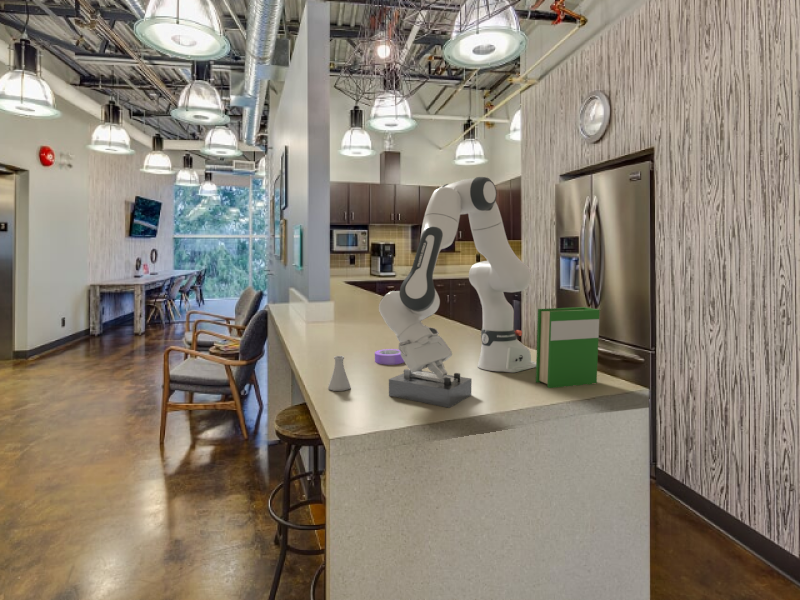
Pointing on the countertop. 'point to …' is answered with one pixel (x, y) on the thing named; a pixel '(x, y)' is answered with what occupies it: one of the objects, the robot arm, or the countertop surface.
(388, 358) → the masking tape
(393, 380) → the lever switch box
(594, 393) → the countertop surface
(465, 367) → the countertop surface
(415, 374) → the switch lever
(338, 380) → the flask
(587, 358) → the hardback book
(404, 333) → the robot arm
